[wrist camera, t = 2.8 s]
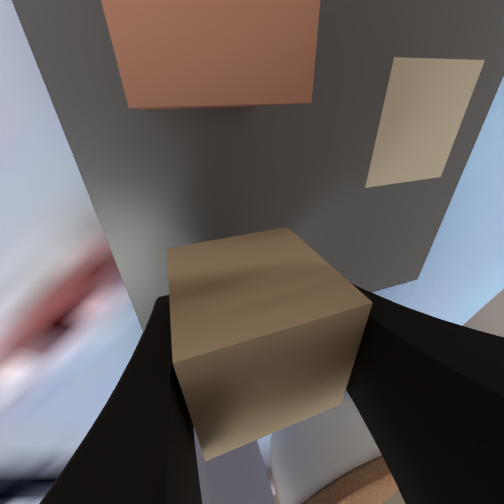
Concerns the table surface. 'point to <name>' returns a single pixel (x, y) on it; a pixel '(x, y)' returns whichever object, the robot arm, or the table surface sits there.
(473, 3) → the plate
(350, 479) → the lidded bowl
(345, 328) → the maple block
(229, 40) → the terracotta block
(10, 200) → the table surface
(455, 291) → the table surface
